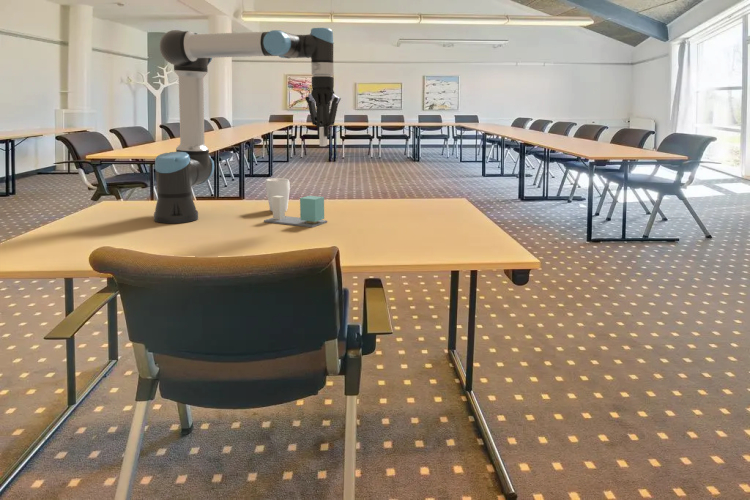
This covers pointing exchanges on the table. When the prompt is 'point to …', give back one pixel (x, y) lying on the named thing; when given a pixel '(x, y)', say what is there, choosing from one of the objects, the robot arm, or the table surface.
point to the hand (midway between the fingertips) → (323, 145)
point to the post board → (282, 219)
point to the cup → (277, 190)
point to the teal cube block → (312, 208)
